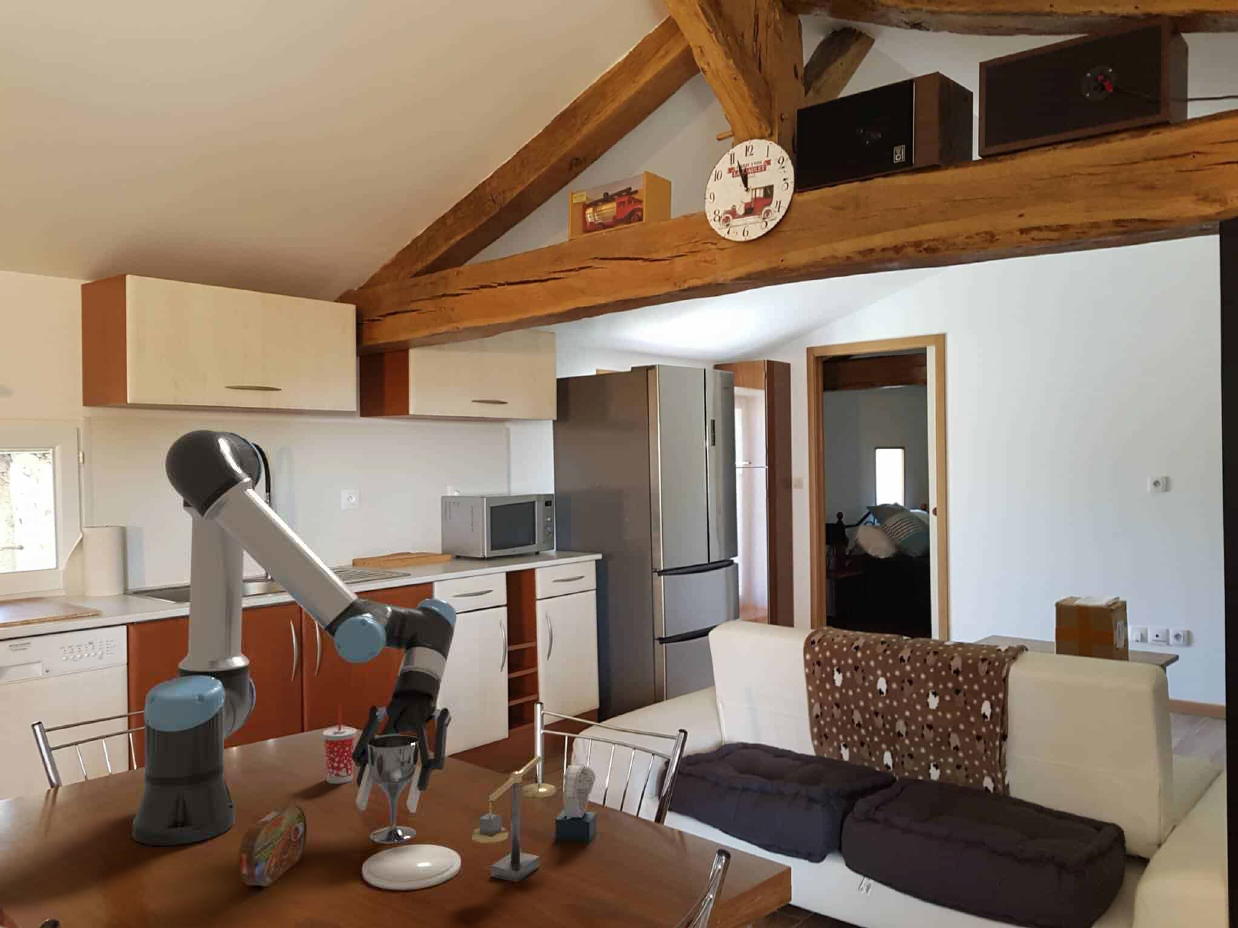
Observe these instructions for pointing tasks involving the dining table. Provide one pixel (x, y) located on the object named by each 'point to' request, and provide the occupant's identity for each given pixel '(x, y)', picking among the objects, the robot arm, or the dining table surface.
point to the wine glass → (393, 777)
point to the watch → (576, 805)
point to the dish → (411, 867)
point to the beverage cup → (339, 752)
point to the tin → (272, 846)
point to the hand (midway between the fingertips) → (385, 807)
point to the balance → (512, 826)
